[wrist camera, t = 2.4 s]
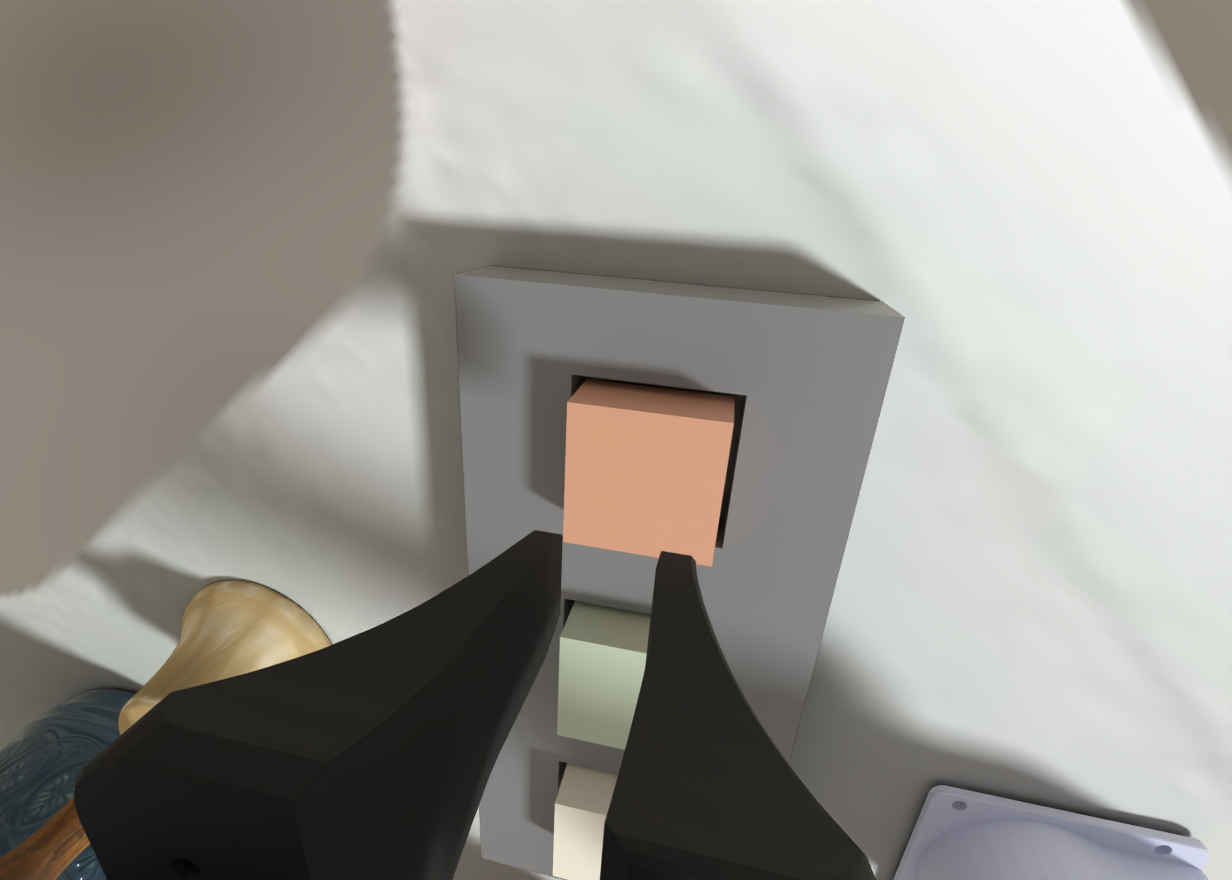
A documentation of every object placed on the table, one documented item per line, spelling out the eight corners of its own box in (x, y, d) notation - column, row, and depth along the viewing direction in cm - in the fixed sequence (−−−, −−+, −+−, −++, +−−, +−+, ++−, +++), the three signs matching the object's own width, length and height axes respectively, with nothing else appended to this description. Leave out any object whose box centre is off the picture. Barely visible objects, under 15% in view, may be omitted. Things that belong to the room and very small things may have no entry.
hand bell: (166, 571, 27) (-489, 993, 13) (321, 588, 26) (-224, 1092, 11) (217, 703, 30) (-262, 1164, 16) (358, 726, 29) (-30, 1260, 14)
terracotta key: (734, 396, 17) (734, 423, 15) (714, 527, 18) (711, 566, 16) (586, 378, 17) (566, 402, 15) (581, 506, 19) (562, 542, 17)
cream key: (677, 776, 23) (671, 831, 21) (666, 847, 25) (660, 903, 23) (570, 752, 24) (555, 803, 22) (567, 822, 25) (552, 875, 23)
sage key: (701, 616, 20) (696, 663, 18) (687, 710, 22) (681, 762, 20) (577, 594, 21) (559, 636, 19) (573, 687, 22) (557, 734, 20)
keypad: (882, 301, 17) (904, 317, 14) (746, 866, 27) (746, 927, 25) (489, 265, 18) (454, 274, 16) (501, 806, 29) (481, 858, 26)
